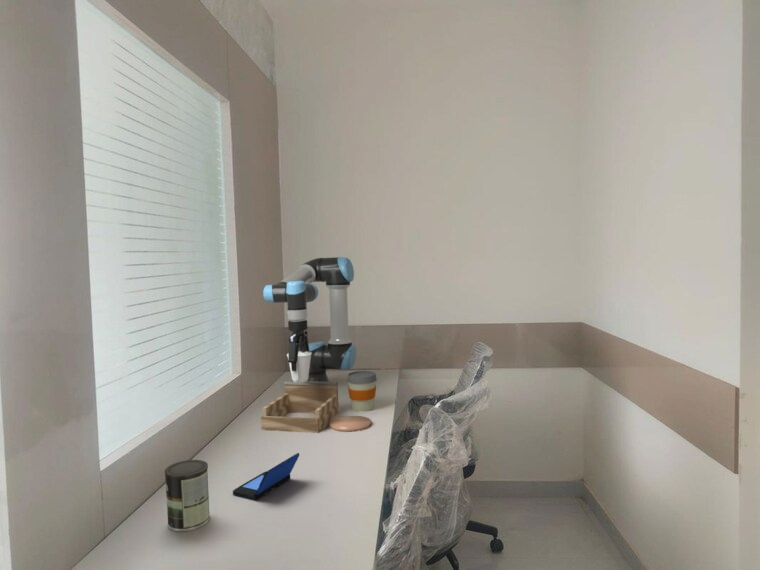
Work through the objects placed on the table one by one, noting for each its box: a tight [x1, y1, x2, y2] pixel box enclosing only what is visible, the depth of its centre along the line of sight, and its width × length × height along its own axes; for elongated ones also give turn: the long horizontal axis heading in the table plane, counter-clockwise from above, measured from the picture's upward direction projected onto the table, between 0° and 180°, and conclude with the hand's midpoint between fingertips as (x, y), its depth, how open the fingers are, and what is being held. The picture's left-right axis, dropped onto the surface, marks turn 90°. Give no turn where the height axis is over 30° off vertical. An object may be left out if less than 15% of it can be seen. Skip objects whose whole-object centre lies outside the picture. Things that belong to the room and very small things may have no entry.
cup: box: [286, 350, 312, 383], centre depth 217 cm, size 10×10×11 cm
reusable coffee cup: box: [346, 370, 377, 412], centre depth 232 cm, size 13×13×15 cm
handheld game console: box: [232, 452, 300, 502], centre depth 156 cm, size 16×13×9 cm
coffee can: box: [164, 459, 211, 533], centre depth 137 cm, size 10×10×14 cm
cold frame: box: [260, 380, 339, 434], centre depth 218 cm, size 25×23×13 cm
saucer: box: [329, 415, 372, 433], centre depth 211 cm, size 16×16×1 cm
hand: (300, 375), depth 217 cm, fingers closed on cup, 9 cm apart
